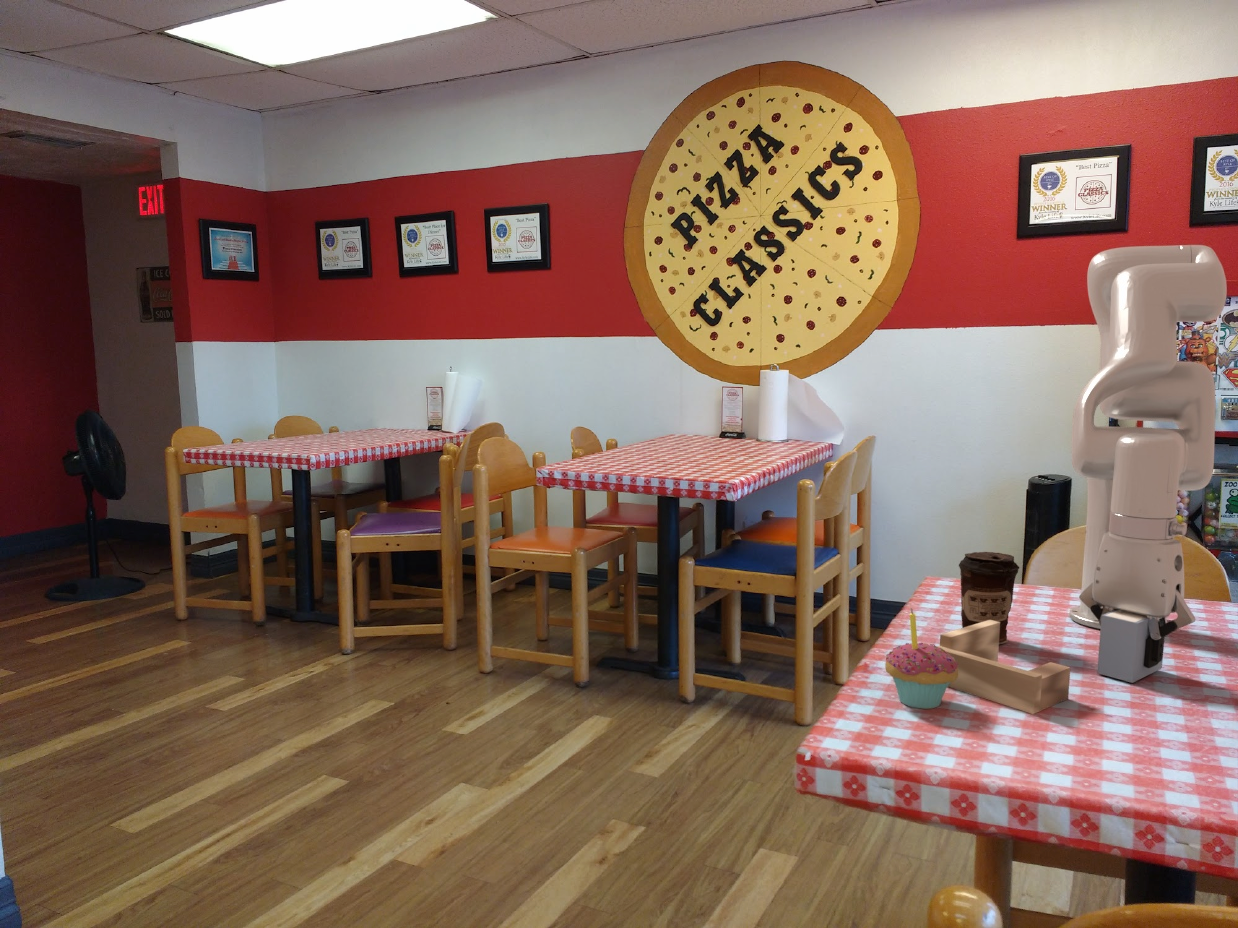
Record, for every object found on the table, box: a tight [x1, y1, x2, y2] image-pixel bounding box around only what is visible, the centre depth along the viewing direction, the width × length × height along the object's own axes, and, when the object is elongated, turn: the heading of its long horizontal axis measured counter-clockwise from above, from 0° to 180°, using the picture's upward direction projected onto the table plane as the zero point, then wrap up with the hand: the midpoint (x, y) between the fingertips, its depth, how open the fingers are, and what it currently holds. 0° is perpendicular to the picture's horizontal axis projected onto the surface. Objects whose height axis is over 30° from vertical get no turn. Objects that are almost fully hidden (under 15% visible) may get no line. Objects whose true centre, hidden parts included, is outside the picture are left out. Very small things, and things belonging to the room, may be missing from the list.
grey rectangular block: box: [1096, 609, 1166, 684], centre depth 124 cm, size 9×4×8 cm, turn 128°
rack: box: [937, 620, 1071, 715], centre depth 118 cm, size 14×14×6 cm
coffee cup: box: [958, 551, 1020, 645], centre depth 137 cm, size 9×8×13 cm
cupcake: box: [884, 607, 958, 710], centre depth 112 cm, size 9×8×12 cm
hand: (1130, 658), depth 124 cm, fingers closed on grey rectangular block, 4 cm apart
